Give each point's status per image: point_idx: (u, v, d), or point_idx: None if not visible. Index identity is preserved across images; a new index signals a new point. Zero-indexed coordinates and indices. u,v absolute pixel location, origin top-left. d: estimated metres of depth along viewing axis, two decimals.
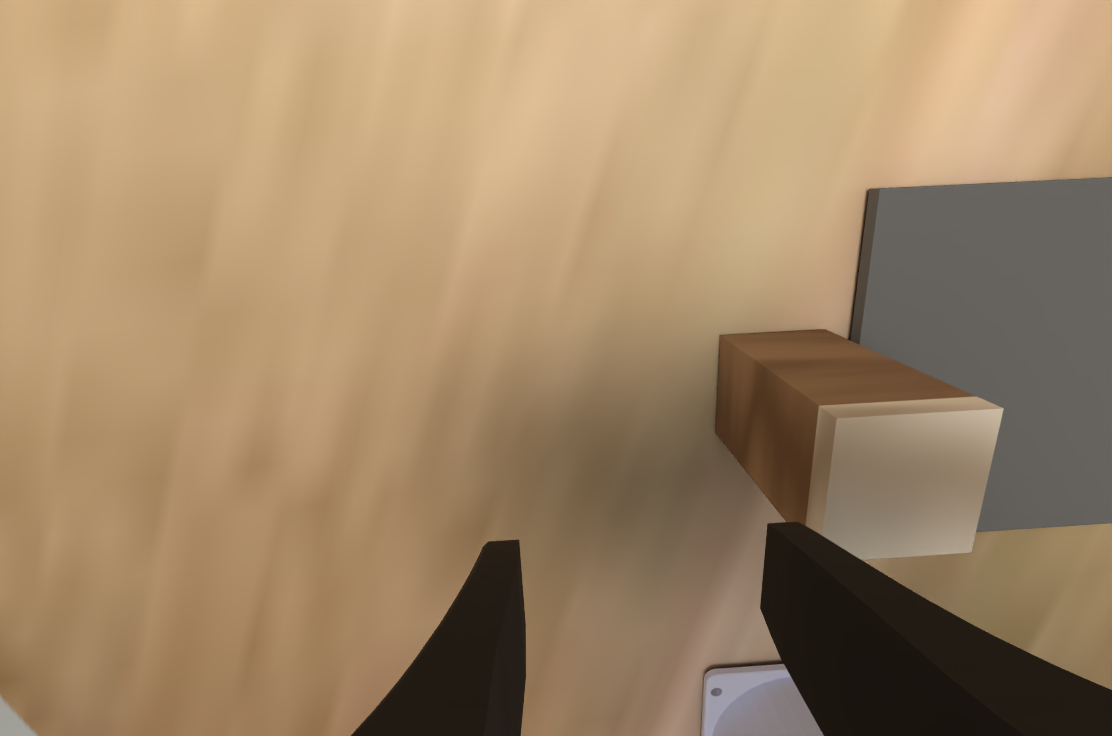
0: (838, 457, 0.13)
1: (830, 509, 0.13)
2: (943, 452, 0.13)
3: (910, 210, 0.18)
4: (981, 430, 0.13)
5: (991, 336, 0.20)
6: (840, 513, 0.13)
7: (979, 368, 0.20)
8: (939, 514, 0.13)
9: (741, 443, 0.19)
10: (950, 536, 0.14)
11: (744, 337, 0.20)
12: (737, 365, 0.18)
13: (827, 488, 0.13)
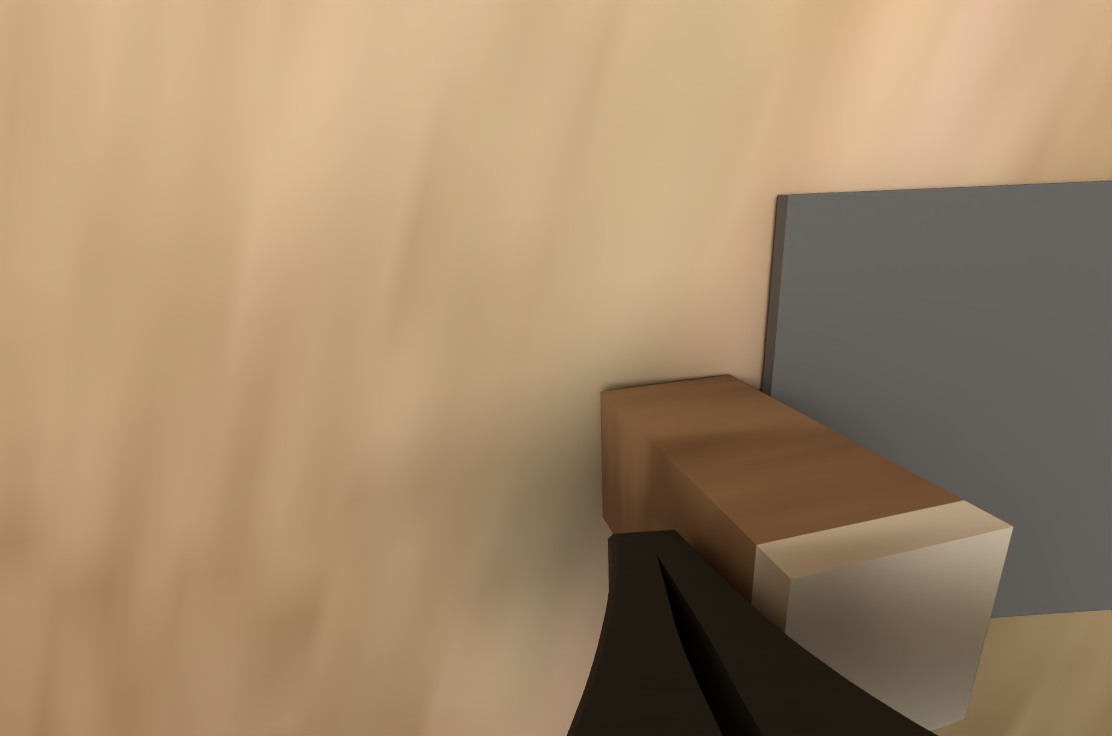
0: (792, 635, 0.08)
1: None
2: (936, 599, 0.08)
3: (830, 223, 0.14)
4: (984, 561, 0.08)
5: (941, 385, 0.15)
6: None
7: (927, 424, 0.16)
8: (928, 682, 0.09)
9: None
10: (939, 707, 0.09)
11: (632, 394, 0.14)
12: (625, 438, 0.13)
13: None
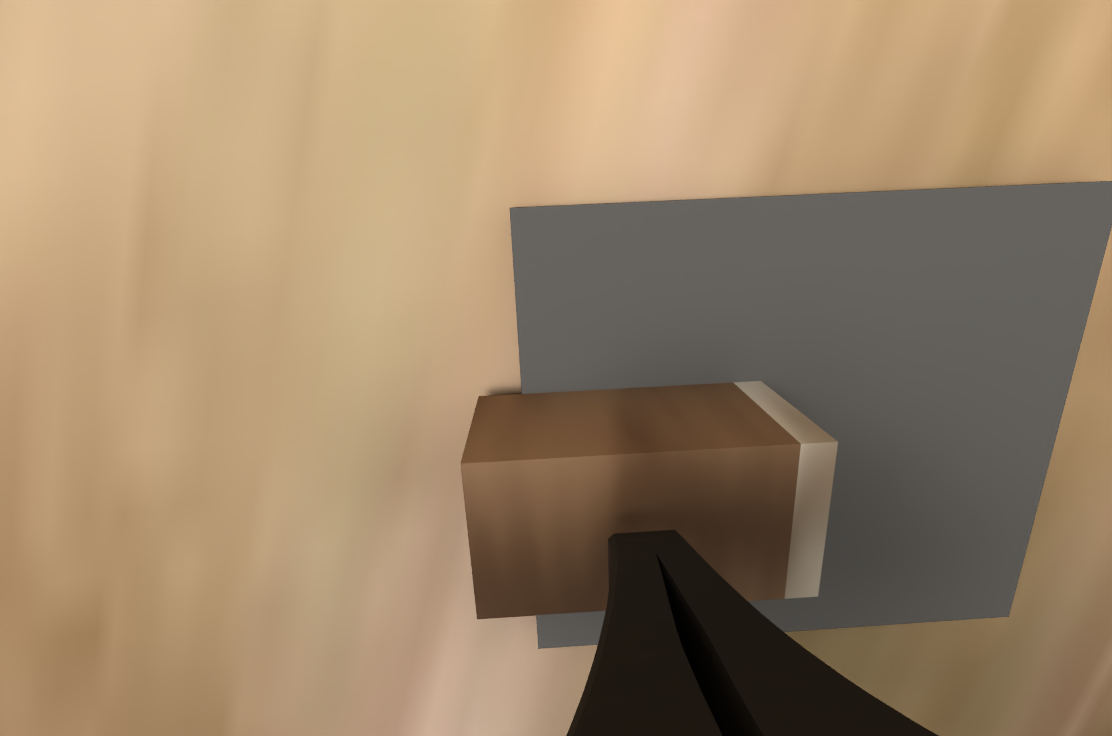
0: (828, 481, 0.12)
1: None
2: None
3: (557, 237, 0.14)
4: None
5: None
6: None
7: None
8: None
9: (589, 583, 0.12)
10: None
11: (487, 446, 0.12)
12: (549, 484, 0.11)
13: (826, 518, 0.12)
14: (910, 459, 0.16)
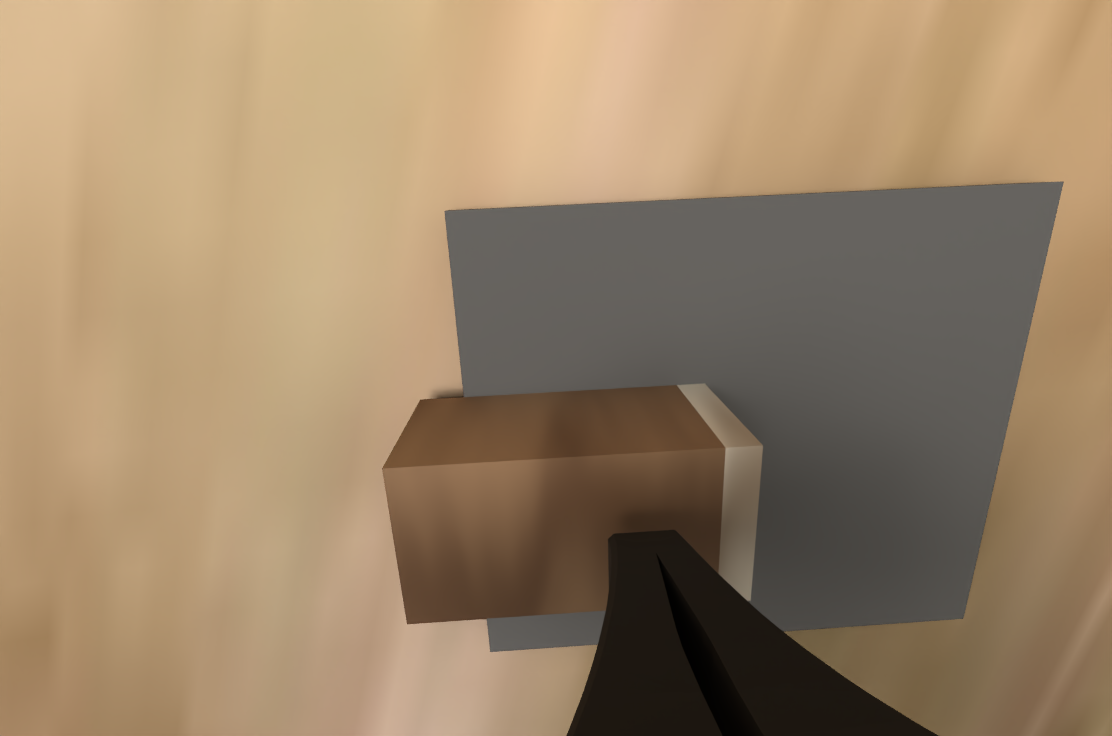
0: (756, 484, 0.12)
1: None
2: None
3: (493, 239, 0.14)
4: None
5: None
6: None
7: None
8: None
9: (518, 588, 0.12)
10: None
11: (413, 451, 0.12)
12: (473, 489, 0.11)
13: (755, 521, 0.12)
14: (858, 462, 0.16)
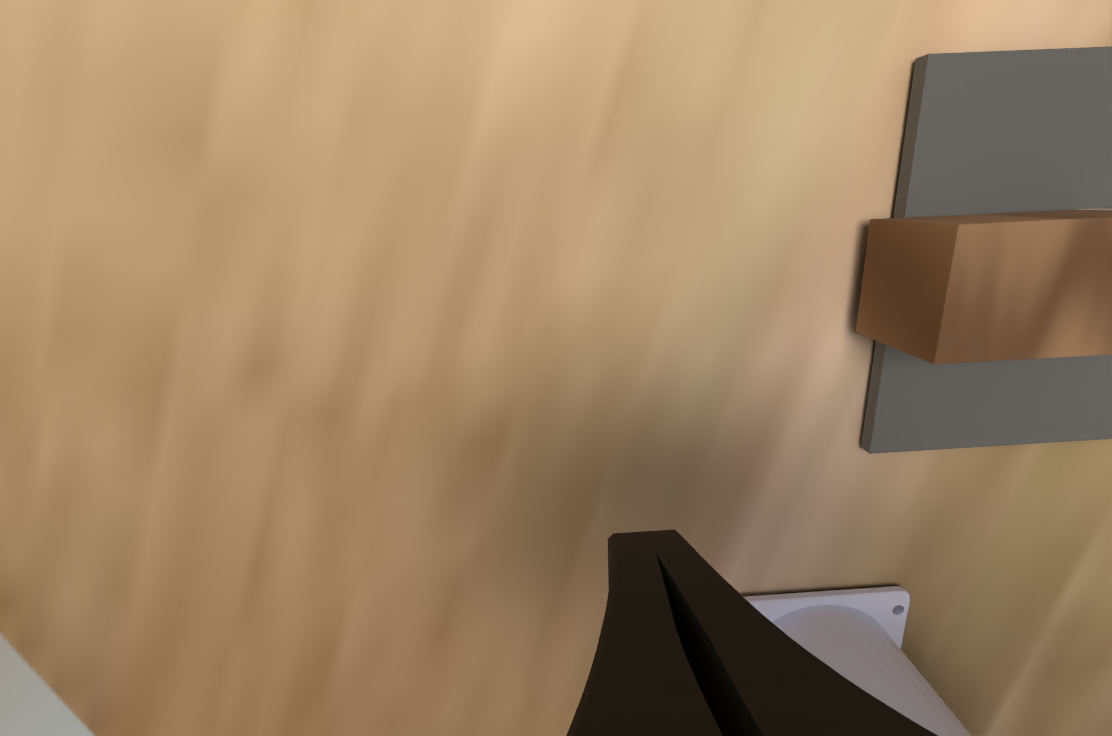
0: None
1: None
2: None
3: (960, 79, 0.17)
4: None
5: None
6: None
7: None
8: None
9: (1026, 334, 0.16)
10: None
11: (956, 222, 0.15)
12: (1019, 244, 0.15)
13: None
14: None
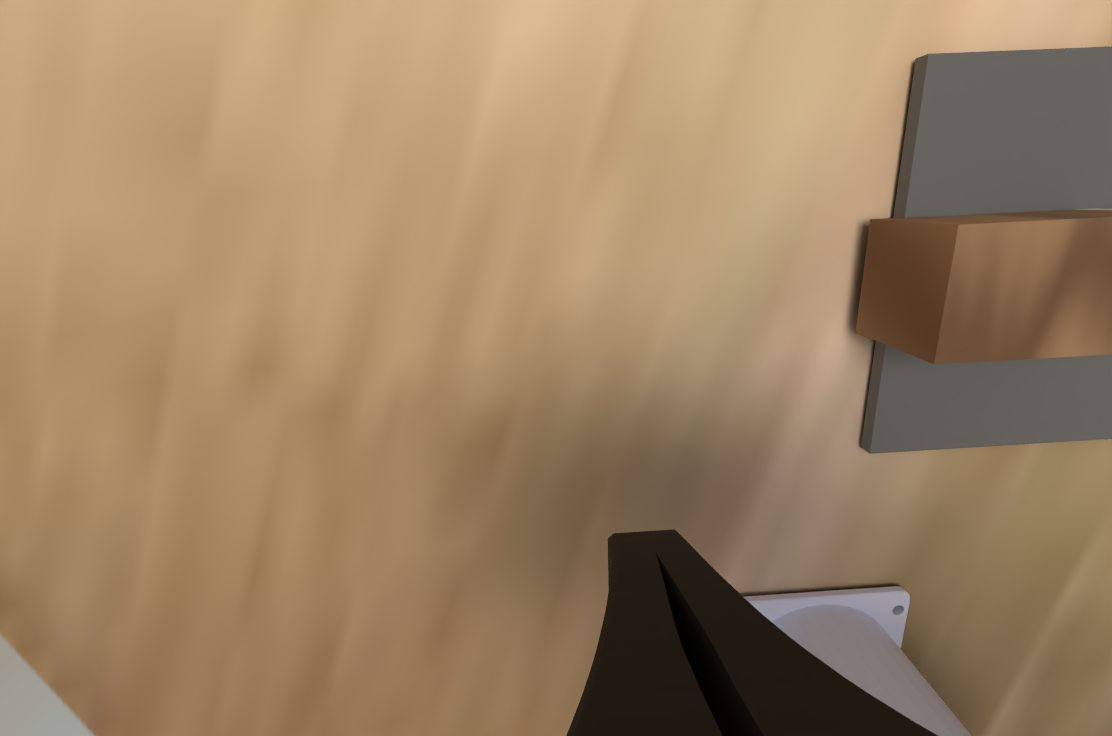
0: None
1: None
2: None
3: (960, 79, 0.17)
4: None
5: None
6: None
7: None
8: None
9: (1026, 334, 0.16)
10: None
11: (956, 222, 0.15)
12: (1019, 244, 0.15)
13: None
14: None
